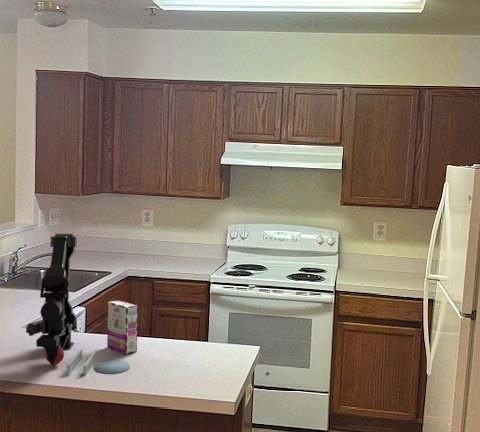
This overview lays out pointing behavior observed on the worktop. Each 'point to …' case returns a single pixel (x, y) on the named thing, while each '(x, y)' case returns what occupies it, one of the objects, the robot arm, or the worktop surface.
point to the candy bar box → (122, 327)
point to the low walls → (78, 358)
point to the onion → (59, 356)
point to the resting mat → (112, 367)
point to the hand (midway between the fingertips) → (54, 360)
